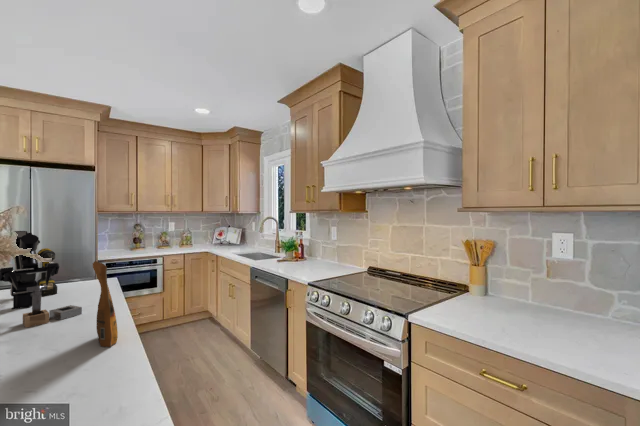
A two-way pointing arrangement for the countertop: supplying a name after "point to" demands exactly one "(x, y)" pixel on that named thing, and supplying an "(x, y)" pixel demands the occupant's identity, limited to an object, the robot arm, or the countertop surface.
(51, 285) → the cordless drill
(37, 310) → the chuck key
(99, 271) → the curved wooden sculpture
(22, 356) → the countertop surface
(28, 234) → the robot arm
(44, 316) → the wooden square frame
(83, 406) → the countertop surface
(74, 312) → the block
